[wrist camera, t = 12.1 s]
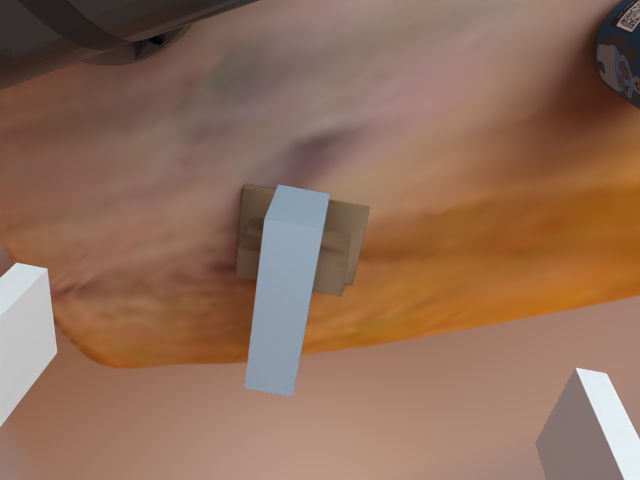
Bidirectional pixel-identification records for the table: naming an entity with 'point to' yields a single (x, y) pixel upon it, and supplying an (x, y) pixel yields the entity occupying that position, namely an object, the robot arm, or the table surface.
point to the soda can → (620, 51)
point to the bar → (284, 287)
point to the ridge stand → (335, 248)
